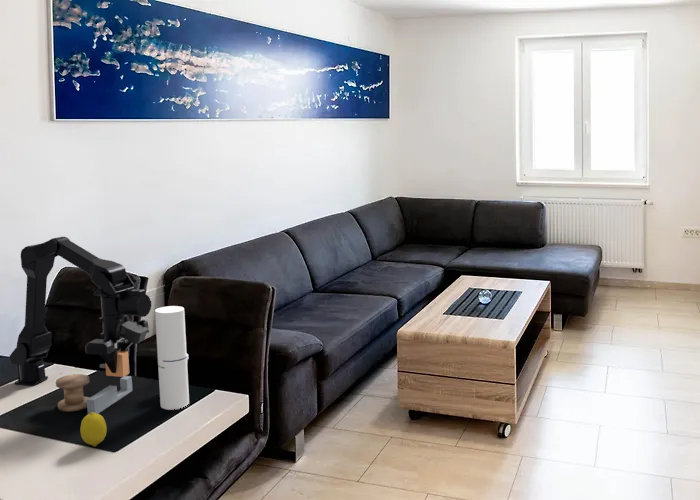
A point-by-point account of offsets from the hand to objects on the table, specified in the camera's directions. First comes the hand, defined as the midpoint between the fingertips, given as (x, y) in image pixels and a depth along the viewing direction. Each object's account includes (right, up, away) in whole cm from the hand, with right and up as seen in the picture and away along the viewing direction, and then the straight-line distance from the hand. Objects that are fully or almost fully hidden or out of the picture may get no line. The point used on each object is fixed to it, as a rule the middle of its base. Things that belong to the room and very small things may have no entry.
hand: (117, 370), depth 196 cm
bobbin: (-10, -8, -5) cm, 13 cm away
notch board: (-1, -8, -3) cm, 8 cm away
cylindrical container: (+16, -8, -5) cm, 19 cm away
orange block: (-1, -1, 0) cm, 1 cm away
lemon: (+4, -12, -29) cm, 32 cm away
